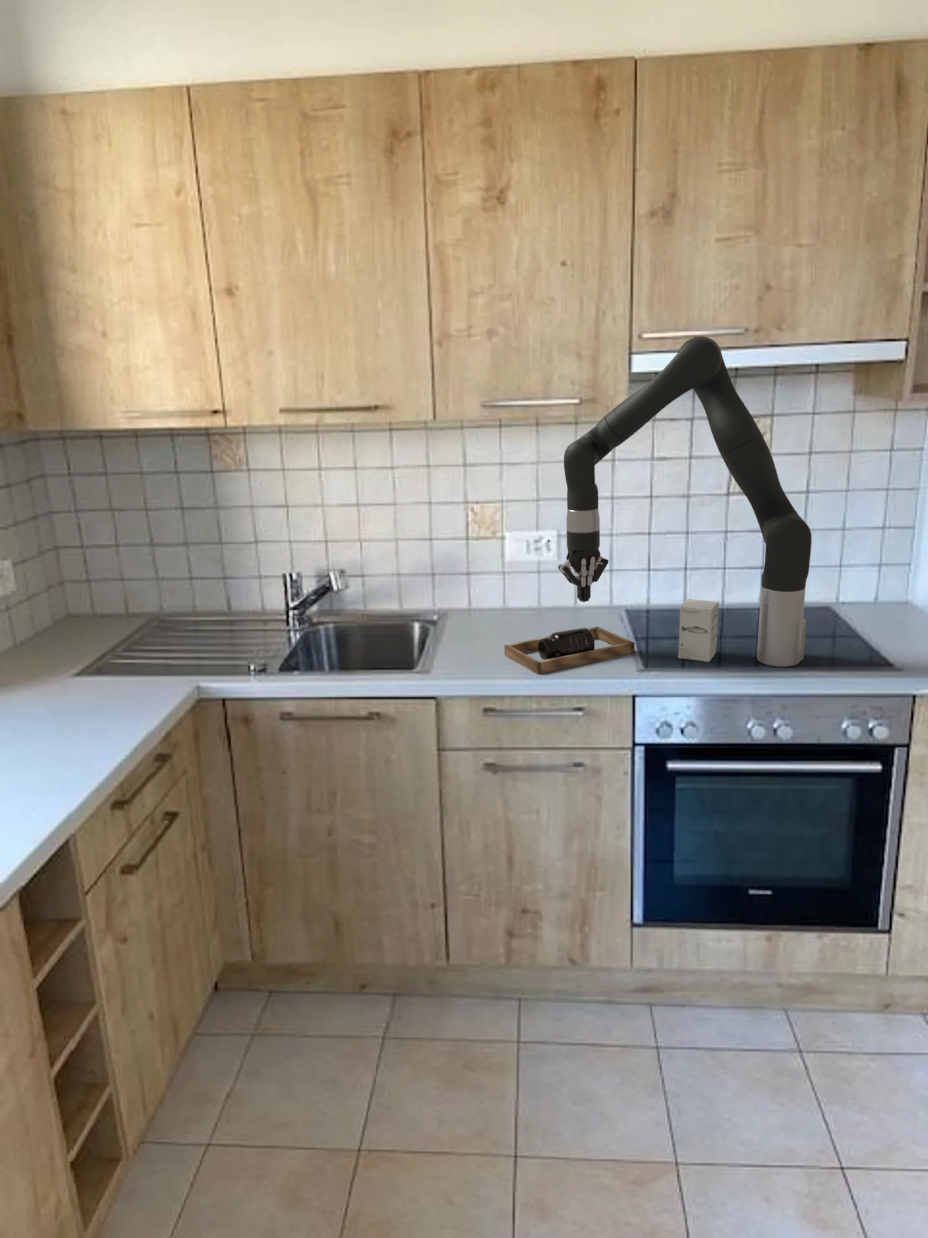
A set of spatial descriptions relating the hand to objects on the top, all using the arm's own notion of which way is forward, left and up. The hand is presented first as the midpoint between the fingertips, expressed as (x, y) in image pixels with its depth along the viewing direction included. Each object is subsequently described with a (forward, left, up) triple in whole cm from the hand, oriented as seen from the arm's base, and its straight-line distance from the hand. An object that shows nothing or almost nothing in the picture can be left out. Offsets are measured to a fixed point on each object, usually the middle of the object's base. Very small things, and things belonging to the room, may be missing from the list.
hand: (584, 600), depth 211 cm
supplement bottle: (+1, +3, -9) cm, 10 cm away
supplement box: (-20, +17, -13) cm, 29 cm away
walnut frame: (+4, 0, -12) cm, 13 cm away
